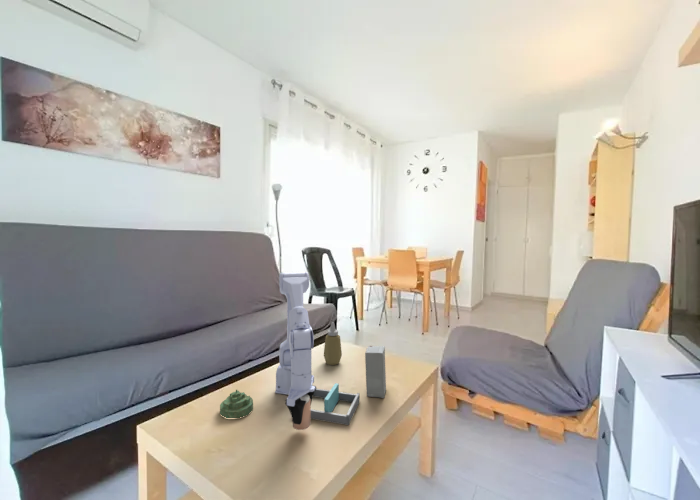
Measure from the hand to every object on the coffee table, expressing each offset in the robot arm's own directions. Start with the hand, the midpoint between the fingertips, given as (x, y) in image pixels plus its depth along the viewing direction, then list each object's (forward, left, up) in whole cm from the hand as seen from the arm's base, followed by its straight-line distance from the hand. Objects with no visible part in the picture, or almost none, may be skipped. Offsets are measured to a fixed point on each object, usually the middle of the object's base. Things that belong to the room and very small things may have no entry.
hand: (301, 417), depth 91 cm
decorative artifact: (-25, +5, -5) cm, 26 cm away
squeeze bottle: (-7, +49, -5) cm, 50 cm away
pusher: (+4, +14, -4) cm, 15 cm away
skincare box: (+16, +29, -5) cm, 33 cm away
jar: (0, 0, -2) cm, 2 cm away
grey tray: (+3, +14, -5) cm, 15 cm away
